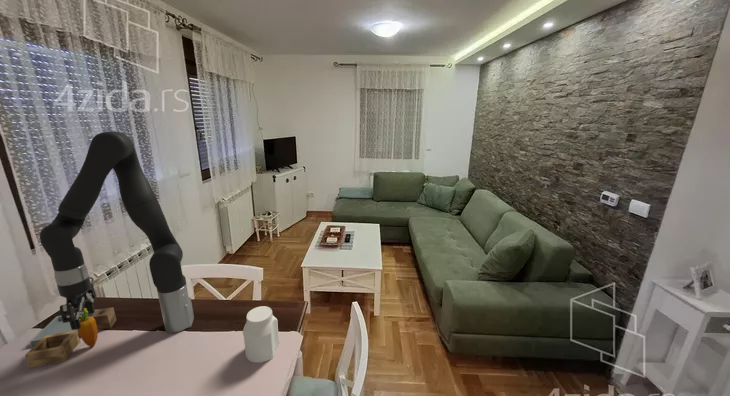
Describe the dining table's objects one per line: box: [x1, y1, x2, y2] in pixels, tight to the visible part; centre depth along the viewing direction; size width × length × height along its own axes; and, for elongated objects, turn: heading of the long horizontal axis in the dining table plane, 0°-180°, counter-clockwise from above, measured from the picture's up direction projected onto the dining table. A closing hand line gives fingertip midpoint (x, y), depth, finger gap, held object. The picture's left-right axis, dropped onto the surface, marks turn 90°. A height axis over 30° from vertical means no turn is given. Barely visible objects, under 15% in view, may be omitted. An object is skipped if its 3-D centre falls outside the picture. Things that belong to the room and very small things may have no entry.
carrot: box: [74, 307, 99, 348], centre depth 99 cm, size 5×5×15 cm
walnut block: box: [92, 307, 117, 332], centre depth 111 cm, size 5×5×6 cm
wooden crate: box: [24, 330, 81, 369], centre depth 97 cm, size 9×9×5 cm
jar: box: [242, 305, 280, 364], centre depth 99 cm, size 12×10×15 cm
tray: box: [30, 308, 100, 347], centre depth 109 cm, size 14×14×2 cm
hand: (83, 320), depth 98 cm, fingers open, 8 cm apart
